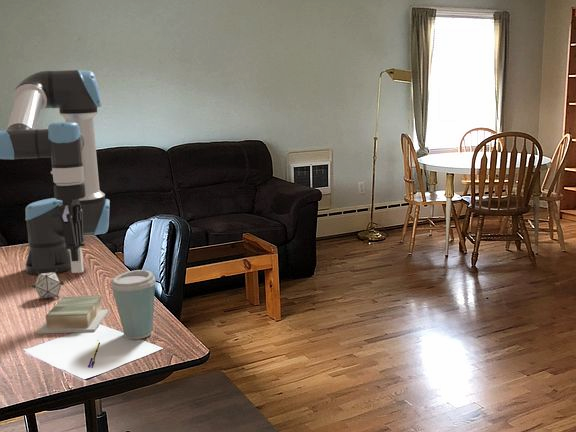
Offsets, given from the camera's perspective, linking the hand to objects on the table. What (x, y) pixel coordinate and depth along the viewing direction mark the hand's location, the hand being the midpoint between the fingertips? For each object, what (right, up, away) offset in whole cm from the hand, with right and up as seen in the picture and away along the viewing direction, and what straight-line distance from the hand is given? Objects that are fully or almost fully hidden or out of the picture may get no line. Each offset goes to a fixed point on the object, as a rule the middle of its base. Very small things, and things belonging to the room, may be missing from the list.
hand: (77, 271), depth 164 cm
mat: (+1, -13, -4) cm, 13 cm away
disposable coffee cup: (+19, -14, -13) cm, 27 cm away
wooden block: (0, -9, +4) cm, 9 cm away
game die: (-13, -9, +15) cm, 22 cm away
